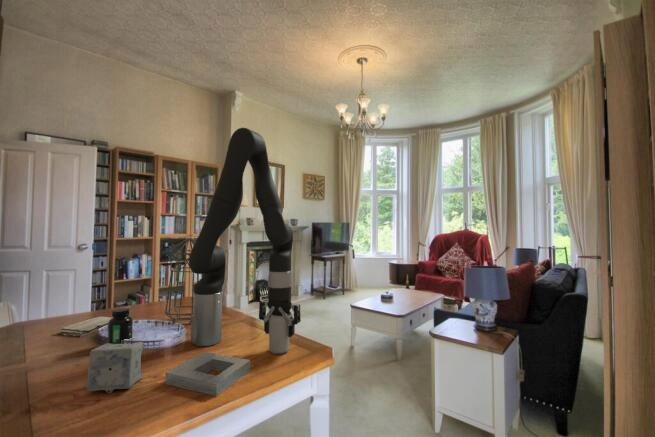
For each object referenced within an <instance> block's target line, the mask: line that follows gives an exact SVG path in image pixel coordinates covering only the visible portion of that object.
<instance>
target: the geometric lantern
mask: <svg viewBox="0 0 655 437" xmlns="http://www.w3.org/2000/svg"><path fill="white" fill-rule="evenodd" d="M195 242H196V240H195V239H194V238H192V237H187V238H186V239H184V240H182V241H181V242H179V243H177V244H174V246H171V247H170V248H168V249H166V250H165V251H164V252H163V253H165V254H166V255H167V256H168V257H169V261H170V263H169V265H170V266H169V267H170V268H169V269H170V276H169V284H168V289H167V291H168V292H167V295H166V297H167V298H166V302H165V303H166V304H165V310H164V314H165V316H167V317H168V318H170V319H171V320H172V322H174V323H175V324H176V322H177V321H182V320H183V321H191V315H192V314H194V286H195V273H194V272H192V270H190V271H188V270H185V269H190V266H189V257H190V254H191V251H192V249H193V246H194V244H195ZM185 245H186V247H185ZM189 245H190V250H189V249H188V248H189ZM184 247H185V249H184ZM188 252H189V253H188ZM179 255H183V256H184V259H180V258H179ZM186 256H188V258H186ZM172 260H175V262H176V263H175V265H174V267H173V268H172V266H173V265H172ZM179 262H185V264H184V265H183V266H181V265H180V263H179ZM186 265H187V266H186ZM188 266H189V267H188ZM177 269H178V270H177ZM181 269H182V270H181ZM176 272H177V280H176V288H175V296H174V304H173V307H172V306H171V305H172V293H173V292H172V291H173V281H174V280H173V279H174V278H173V277H174V273H176ZM181 273H182V277H181V279H182V280H181V287H180V288H181V290H180V291H181V292H180V301H179V306H178V305H177V296H178V290H179V289H178V288H179V280H180V274H181ZM185 273H192V281H191V282H192V284H191V305H182V302H183V290H184V278H185V277H184V276H185ZM196 275H197V276H196V278H197V279H196V280H197V281H196V283H197V282H199V281H200V277H199V276H200V274H196ZM202 277H203V274H201V278H202ZM176 305H177V306H176ZM171 307H172V308H171ZM177 308H179V313H178V311H177ZM181 308H191V313H189V312H188V313H181ZM173 310H174V311H175V313H171V311H173ZM173 316H174V317H173ZM181 316H184V317H181ZM187 316H188V317H187ZM189 316H190V317H189ZM182 324H183V326H184V325H191V322H190V323H182Z"/></svg>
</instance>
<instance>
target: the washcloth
mask: <svg viewBox="0 0 655 437" xmlns="http://www.w3.org/2000/svg"><path fill="white" fill-rule="evenodd" d="M112 318H113V317H108V316H97V317H94V318H89V319H85V320H83V321H79V322H76V323H72V324H70V325H66V326H63V327H60V328H59V330H58V331H59V333H58V335H61V334H66V335H75V336H74V337H76V336H83V337H86V336H85V335H87V336H89V335H88V334H90V335H92V334H91V333H93V332H94V333H93V334H95V332H96V333H98V332H97V331H98V329H99V328H101V327H103V326H105V325H108V322H109V320H110V319H112ZM66 335H65V336H66Z"/></svg>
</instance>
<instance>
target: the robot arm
mask: <svg viewBox="0 0 655 437" xmlns="http://www.w3.org/2000/svg"><path fill="white" fill-rule="evenodd" d="M225 155H226V156H225V160H224V162H223V167H222V170H221V173H220V176H219V179H218V181H217V185H216V189H215V191H214V193H213V196H212V199H211V202H210V206H209V208H208V212H207V214H206V216H205V219H204V222H203V224H202V227H201V229H200V232H199V235H198V236H197V239H196V240H195V241H196V242H195V244H194V245H193V246H192V251H191V252H190V253H191V254H190V256H188V258H189V261H188V263H189V265H188V266H190V268H189V269H190V271H192V272H191V273H193V272H194V274H196V275H197V274H199V275H202V274H203V277H202V276H201V279H199V282H197V281H196V283H194V295H193V306H194V307H193V313H194V314H192V315H191V316H190V318H191V320H190V323H191V324H190V343H192V344H193V345H194V346H198V347H208V346H214V345H217V344H219V343H220V342H221V341H222V332H223V331H222V327H223V326H222V323H223V322H222V321H223V320H222V319H223V317H222V316H223V286H224V284H225V281H226V280H225V279H226V264H227V263H226V262H227V261H226V254H225V251H224V249H223V248H222V247H221V246H219V245H217V242H218V241H219V239H220V238H221V236H222V234H223V233H224V232H225V231H226V230H227V229H228V228H229V227H230V226H231V224H232V223H233V222H234V221H235V219H236V218H237V216H238V213H239V211H240V207H241V205H242V201H243V198H244V196H243V195H244V184H243V183H244V181H243V179H244V173H245V170H246V168H247V167H246V166H247V164H250V167H251V169H252V172H253V177H254V191H255V198H256V202H257V204H258V207H259V209H260V213H261V215H262V220H263V225H264V227H263V228H264V231H265V235H266V237H267V239H268V241H269V242H270V243H271V244H272V250H271V253H270V254H269V259H268V260H269V261H268V277H267V299H268V301H267V300H266V299H263V300H262V301H259V306H258V319H259V320H260V321H263V324H264V327H263V328H264V329H263V331H264V332H265V334H267V335H269V318H270V317H271V315H272V314H273V315H277V316H283V317H284V319H285V320H286V321H287V322H288V324H289V326H288V337H289V338H292V337H293V336H294V335H295V334H296V333H295V332H296V331H295V330H296V328H295V325H298V324H299V323H300V322H302V320H301V319H302V318H301V304H300V303H297V304H293V303H292V284H293V282H292V258H291V256H292V255H291V254H292V250H293V242H294V232H293V230H292V227H291V226H290V225H289V224H287V223H285V219H284V217H283V216H284V215H283V212H284V209H283V205H282V202H281V200H280V197H279V194H278V191H277V187H276V185H275V181H274V179H273V175H272V170H271V167H270V166H271V165H270V161H269V160H270V159H269V155H268V150H267V145H266V141H265V139H264V137H263V136H262V135H261V134H260V133H257V132H256V131H254V130H252V129H250V128H247V127H240V128H238V129H236V130H234V132H233V134H232V135H231V137H230V138H229V142H228V146H227V151H226V154H225ZM267 308H268V309H269V310H268V312H267ZM291 309H292V311H291ZM292 312H293V313H292ZM287 314H288V315H287Z"/></svg>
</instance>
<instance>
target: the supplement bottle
mask: <svg viewBox="0 0 655 437" xmlns="http://www.w3.org/2000/svg"><path fill="white" fill-rule="evenodd" d="M111 318H112V319H110V320H109V322H108V328H107V343H111V344H121V340H124V339H130V338H132V339H133V328H134V327H133V320H134V319H133V317H132V316H131V315H130V308H129V307H121V308H120V307H119V308H115V309H113V310H112V311H111Z"/></svg>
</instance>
